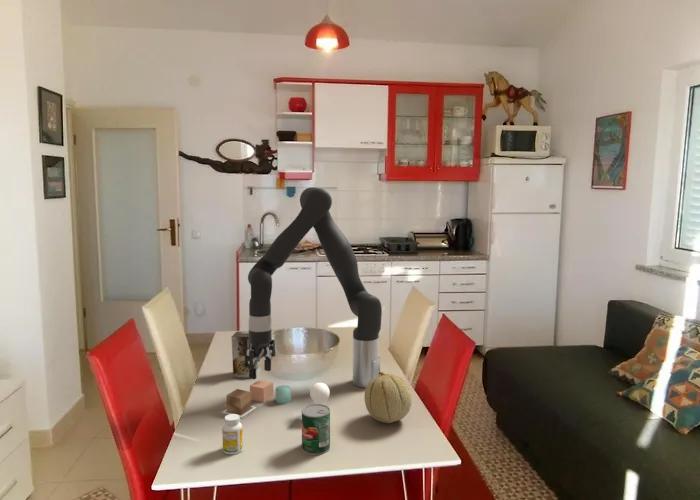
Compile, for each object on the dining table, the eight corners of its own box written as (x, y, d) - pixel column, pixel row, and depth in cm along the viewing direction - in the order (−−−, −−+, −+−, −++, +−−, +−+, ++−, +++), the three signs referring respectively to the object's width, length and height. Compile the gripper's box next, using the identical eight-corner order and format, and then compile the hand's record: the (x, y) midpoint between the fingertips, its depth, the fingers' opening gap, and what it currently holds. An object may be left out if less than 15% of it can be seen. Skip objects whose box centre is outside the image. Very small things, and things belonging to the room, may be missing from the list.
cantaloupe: (404, 435, 152) (405, 386, 150) (357, 426, 157) (357, 379, 155) (416, 413, 166) (417, 368, 164) (372, 406, 171) (372, 362, 169)
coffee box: (260, 372, 201) (259, 331, 199) (256, 378, 195) (255, 336, 193) (237, 371, 202) (236, 330, 200) (232, 377, 196) (231, 335, 193)
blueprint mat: (261, 408, 169) (261, 406, 169) (242, 421, 160) (242, 419, 160) (236, 402, 174) (236, 400, 174) (216, 415, 165) (216, 412, 165)
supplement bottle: (230, 457, 140) (229, 423, 139) (218, 450, 143) (217, 417, 142) (246, 449, 144) (246, 416, 143) (234, 443, 147) (233, 410, 146)
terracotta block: (273, 397, 178) (272, 382, 177) (263, 404, 173) (263, 388, 172) (259, 395, 180) (259, 379, 179) (250, 401, 175) (249, 385, 174)
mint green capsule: (293, 401, 175) (293, 386, 174) (285, 407, 171) (285, 392, 170) (281, 398, 177) (281, 384, 177) (273, 404, 173) (272, 389, 172)
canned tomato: (296, 451, 143) (296, 413, 141) (308, 438, 150) (308, 402, 149) (323, 457, 140) (323, 418, 139) (334, 443, 147) (334, 406, 146)
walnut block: (251, 408, 168) (251, 391, 168) (241, 415, 163) (240, 398, 163) (237, 404, 171) (237, 388, 170) (226, 411, 166) (226, 395, 165)
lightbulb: (332, 414, 166) (332, 381, 164) (325, 422, 160) (325, 388, 158) (314, 411, 168) (314, 378, 166) (307, 419, 162) (306, 385, 160)
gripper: (256, 334, 165) (257, 383, 167) (281, 323, 178) (281, 369, 180) (237, 331, 168) (238, 379, 170) (263, 321, 181) (263, 366, 183)
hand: (260, 374), depth 175 cm, fingers open, 8 cm apart
